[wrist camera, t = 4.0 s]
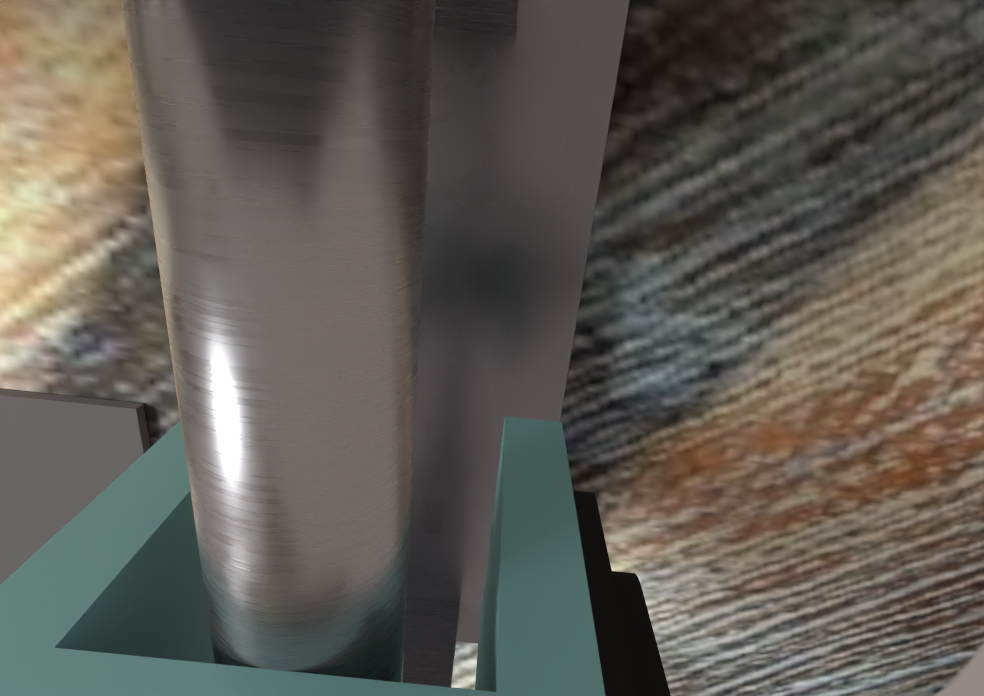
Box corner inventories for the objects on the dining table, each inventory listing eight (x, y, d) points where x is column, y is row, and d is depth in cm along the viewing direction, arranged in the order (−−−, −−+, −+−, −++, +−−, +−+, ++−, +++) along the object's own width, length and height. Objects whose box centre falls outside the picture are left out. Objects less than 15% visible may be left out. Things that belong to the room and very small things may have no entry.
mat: (-149, 373, 19) (-162, 378, 19) (143, 403, 19) (135, 409, 19) (-50, 626, 24) (-59, 634, 23) (184, 650, 24) (179, 658, 23)
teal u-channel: (217, 386, 10) (-219, 784, 4) (561, 422, 10) (633, 868, 4) (239, 601, 12) (-29, 1077, 6) (527, 630, 12) (540, 1133, 6)
